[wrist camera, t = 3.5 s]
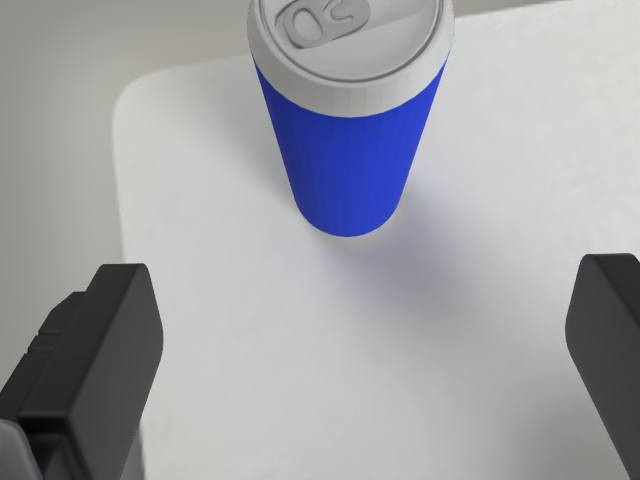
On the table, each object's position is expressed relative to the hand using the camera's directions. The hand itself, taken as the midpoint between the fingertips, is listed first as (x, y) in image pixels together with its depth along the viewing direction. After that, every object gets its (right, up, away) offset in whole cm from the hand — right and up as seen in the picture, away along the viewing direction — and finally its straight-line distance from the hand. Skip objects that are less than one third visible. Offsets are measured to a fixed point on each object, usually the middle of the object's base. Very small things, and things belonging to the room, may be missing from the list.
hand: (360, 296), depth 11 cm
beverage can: (+1, +4, +17) cm, 18 cm away
